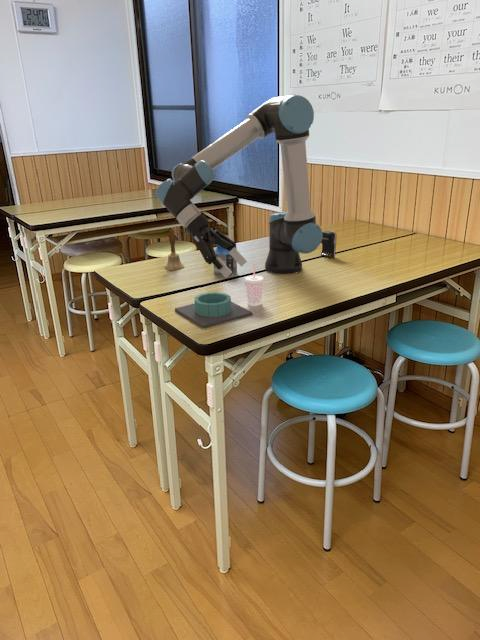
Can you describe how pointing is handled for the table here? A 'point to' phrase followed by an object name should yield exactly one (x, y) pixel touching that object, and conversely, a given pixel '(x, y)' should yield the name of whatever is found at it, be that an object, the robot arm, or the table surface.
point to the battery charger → (328, 243)
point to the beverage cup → (254, 288)
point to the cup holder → (212, 310)
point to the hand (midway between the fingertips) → (237, 269)
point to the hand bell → (173, 255)
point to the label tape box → (225, 260)
